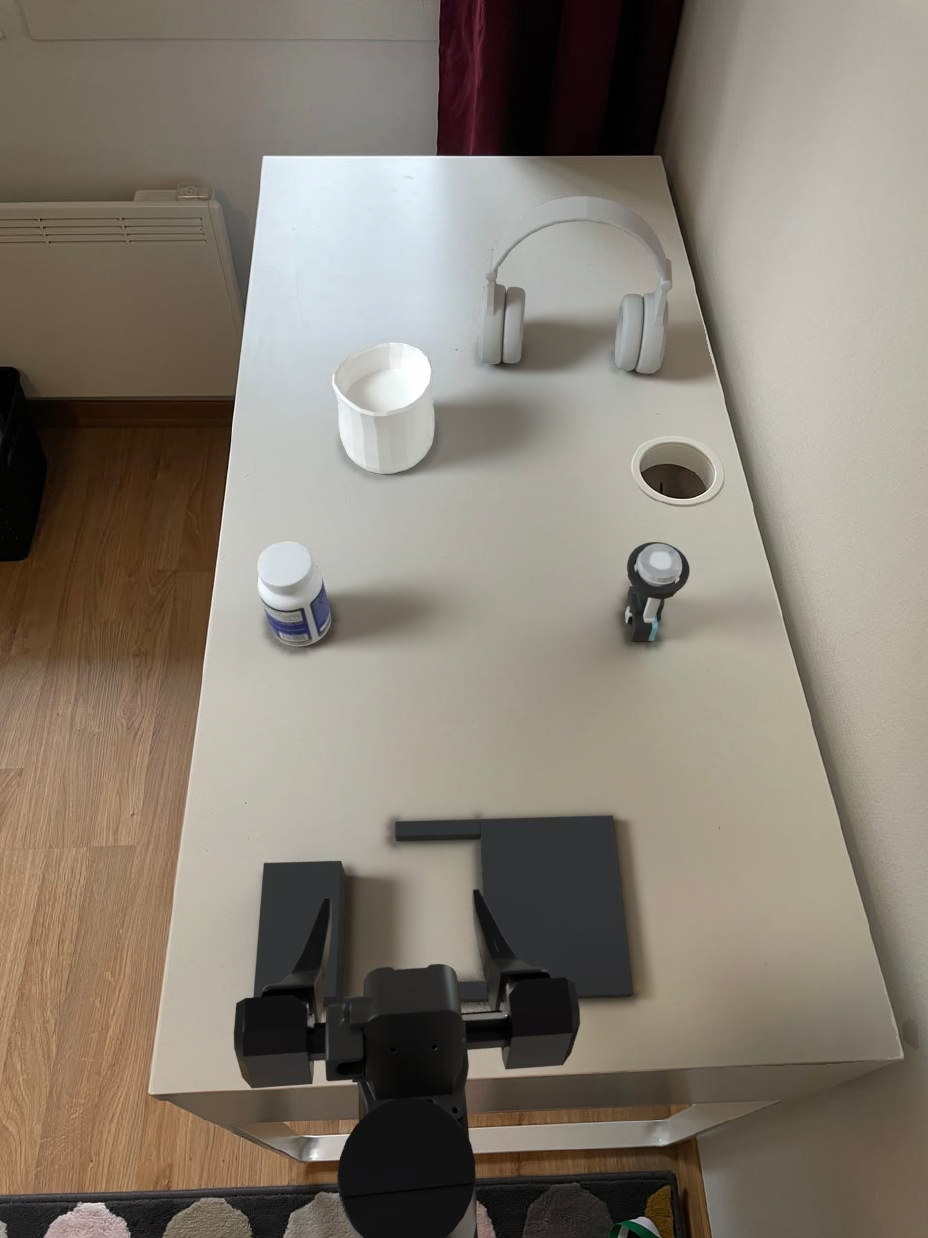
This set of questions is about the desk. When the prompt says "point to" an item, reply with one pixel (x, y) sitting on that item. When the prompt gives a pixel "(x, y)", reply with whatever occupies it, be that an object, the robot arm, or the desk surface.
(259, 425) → the desk surface
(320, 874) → the foam pad
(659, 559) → the push button
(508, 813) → the desk surface
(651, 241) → the headphones
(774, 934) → the desk surface
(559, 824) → the base pad
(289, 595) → the pill bottle
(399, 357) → the cup
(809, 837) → the desk surface
